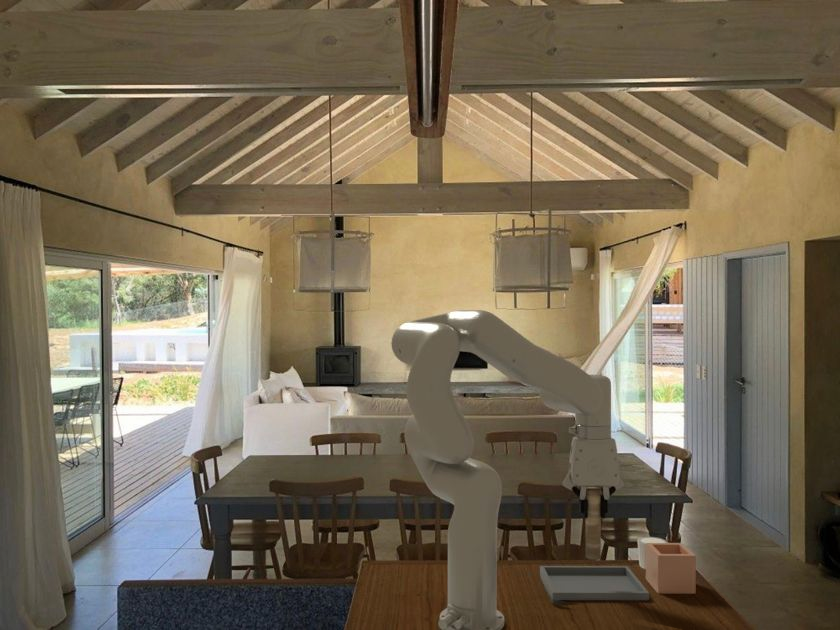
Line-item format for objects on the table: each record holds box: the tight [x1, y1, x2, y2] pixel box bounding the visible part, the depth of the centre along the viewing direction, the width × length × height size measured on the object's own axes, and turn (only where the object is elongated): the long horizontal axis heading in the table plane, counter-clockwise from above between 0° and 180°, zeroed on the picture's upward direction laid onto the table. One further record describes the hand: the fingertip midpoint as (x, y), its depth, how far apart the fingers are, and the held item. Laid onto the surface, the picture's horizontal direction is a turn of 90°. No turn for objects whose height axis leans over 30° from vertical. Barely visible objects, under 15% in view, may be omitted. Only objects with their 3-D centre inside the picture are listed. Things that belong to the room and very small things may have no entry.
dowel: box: [585, 487, 602, 561], centre depth 153 cm, size 3×3×15 cm
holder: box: [645, 542, 697, 595], centre depth 153 cm, size 8×8×9 cm
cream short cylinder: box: [637, 536, 669, 570], centre depth 165 cm, size 7×7×7 cm
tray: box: [539, 565, 650, 606], centre depth 153 cm, size 20×15×2 cm
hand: (593, 515), depth 153 cm, fingers closed on dowel, 3 cm apart
